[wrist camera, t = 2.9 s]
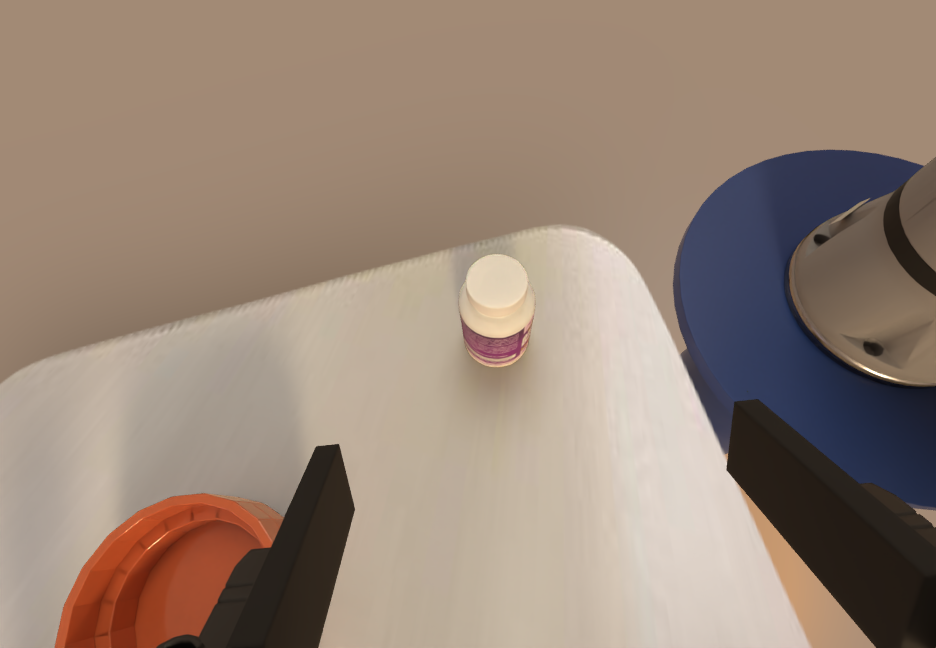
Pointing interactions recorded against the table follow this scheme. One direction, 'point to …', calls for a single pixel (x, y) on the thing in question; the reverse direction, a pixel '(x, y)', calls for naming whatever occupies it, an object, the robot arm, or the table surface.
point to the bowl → (163, 571)
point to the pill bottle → (496, 310)
